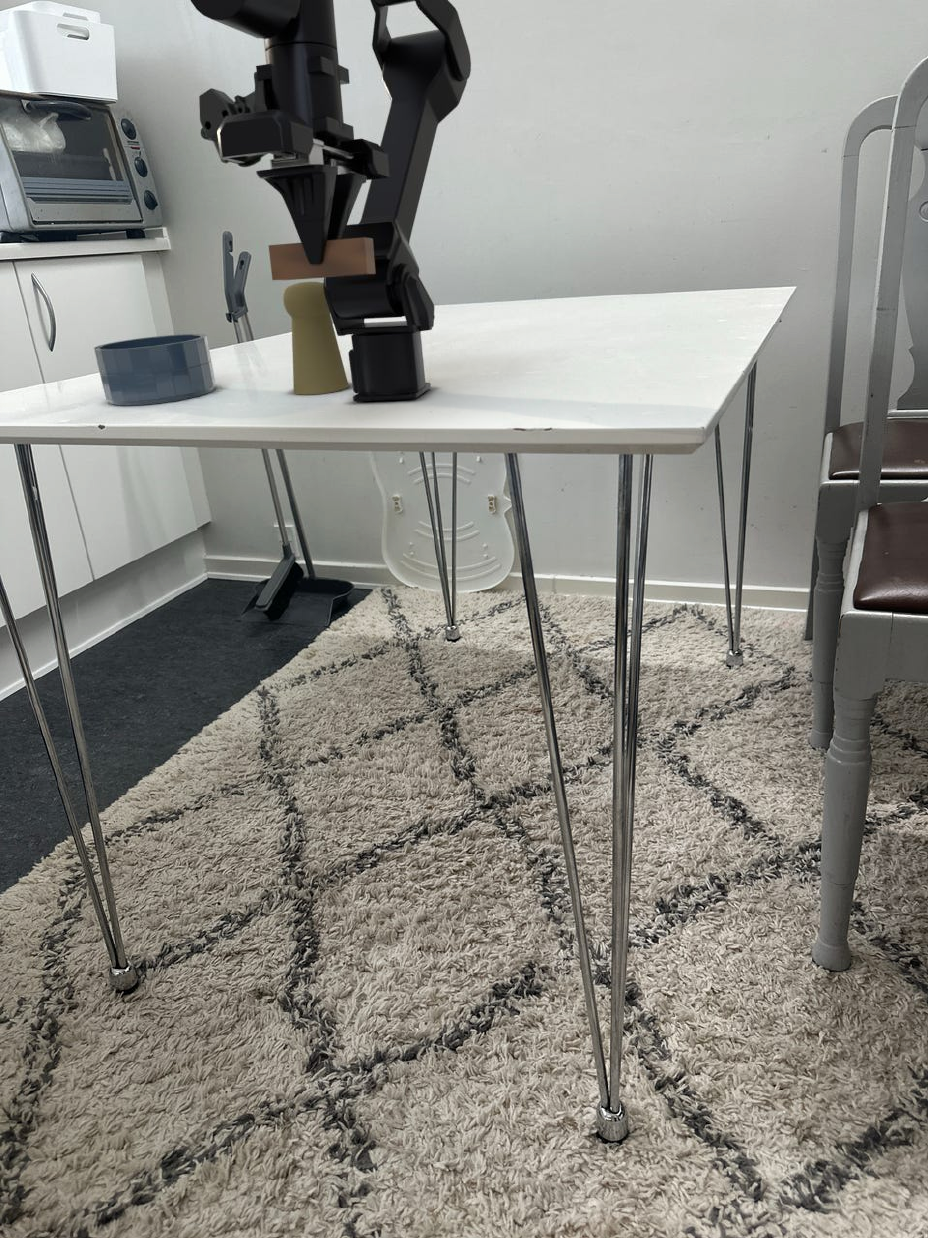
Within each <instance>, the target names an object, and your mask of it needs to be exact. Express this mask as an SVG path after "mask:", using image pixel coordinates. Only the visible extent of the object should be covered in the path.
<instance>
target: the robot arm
mask: <svg viewBox="0 0 928 1238" xmlns="http://www.w3.org/2000/svg"><path fill="white" fill-rule="evenodd" d="M369 1H370V3H371V6H372V8H373V11H374V13H375V14H374V23H373V32H372V40H371V47H372V51H373V53H374V56H375V59H376V61H377V64H378V66H379V68H380V71H381V82H382V83H383V86H384V87H385V90H386V92H387V95H388V96H389V99H390V101H391V102H390V106H389V110H388V114H387V117H386V122H385V126H384V130H383V133H382V136H381V137H382V138H381V141H380V145H379V144H378V143H376V142H373V141H370V140H368V139H364V138H355V131H354V126H353V125H350V124H348V123H345V122H344V121H345V120H344V110H343V98H342V85H349V84H350V83H351V82H350V70H349V68H347V67H345V66H343V65H340V63H339V52H338V40H337V29H336V16H335V5H334V0H190V2H191V4H192V5H193V7H194V8H195V9H196V10H197V12H199V13H200V14H201V15H202V16H204V17H205V18H208V19H210V20H212V21H214V22H217V23H220V24H222V25H224V26H227V27H228V28H232V29H234V30H237V31H239V32H241V33H244V34H246V35H249V36H252V37H254V38H256V39H262V40H263V47H264V55H265V64H259V65H255V69H256V71H254V73H253V82H254V91H252V92H251V93H249V94H247V95H245V96H243V95H239V94H237V95H235V96H234V97H233V98H234V100H233V99H232V98H231V97H230V96H229V95H228V94H227V93H226V92H224V91H222V90H218V89H216V88H213V87H211V88H209V89H207V90H206V91H205V92H203V93H201V94H200V95H199V96H198V107H199V108H198V109H199V111H198V112H199V123H200V125H201V129H200V136H201V138H202V139H203V140H207V141H210V142H212V143H213V146H214V147H215V150H216V152H217V154H218V157H219V159H220V161H221V163H223V164H225V165H226V164H227V165H228V163H232V164H237V166H238V167H241V168H249V167H252V166H256V164H259V163H260V162H261V160H262V158H263V157H265V156H266V155H268V154H271V155H272V157H273V158H272V159H269V163H270V164H269V165H270V169H269V168H268V169H262V170H256V171H255V174H256V175H257V177H258V178H259V179H261V180H263V181H265V182H266V183H268V184H269V186H271V187H272V188H273V189H275V190H276V191H277V192H278V193H279V194H280V195H281V197H282V199H283V201H284V204H285V206H286V208H287V211H288V213H289V215H290V217H291V220H292V222H293V225H294V227H295V231H296V233H297V235H298V238H299V241H300V243H302V246H303V248H304V251H305V254H306V256H307V259H308V261H309V263H310V264H313V265H314V264H322V262H323V258H324V253H325V248H326V243H327V240H338V239H350V238H362V237H365V238H372V239H373V247H374V260H375V274H370V275H355V276H341V277H326V278H323V282H322V283H323V288H324V295H325V298H326V301H327V304H328V308H329V311H330V316H331V320H332V324H333V327H334V330H335V333H336V336H337V337H345V336H348V335H349V336H350V337H351V338H350V339H351V347H352V348H351V349H350V350H349V351H348V352H347V353H348V354H347V355H348V361H349V369H350V377H351V385H352V392H353V393H354V394H355V395H353V396H352V401H353V402H372V401H373V402H374V401H394V400H395V401H396V400H414V399H417V398H418V397H420V396H421V395H422V394H424V393H425V392H427V391H428V390H430V388H432V387H431V386H432V384H431V382H426V375H425V373H426V371H425V364H424V363H425V361H424V353H423V343H422V342H423V341H422V332H427V331H431V330H433V328H434V325H435V304H434V302H433V300H432V299H431V296H430V294H429V293H428V290H427V289H426V287H425V285H424V282H423V281H422V279H421V277H420V267H419V264H418V262H417V260H416V256H415V255H414V253H413V250H412V247H411V245H410V242H411V236H412V233H413V229H414V224H415V220H416V215H417V211H418V208H419V203H420V200H421V195H422V191H423V187H424V183H425V178H426V175H427V171H428V167H429V163H430V158H431V155H432V150H433V146H434V142H435V139H436V133H437V130H438V125H439V124H441V122H442V121H444V120H445V119H446V118H447V116H449V115H451V113H452V112H453V111H454V110H455V109H456V108H457V107H458V106H459V104H460V102H461V100H462V97H463V94H464V92H465V89H466V87H467V83H468V80H469V78H470V77H471V72H472V59H471V52H470V49H469V45H468V42H467V38H466V35H465V32H464V29H463V26H462V23H461V19H460V16H459V15H460V14H459V12H458V10H457V9H456V7H455V6H454V5H453V4H452V2H451V1H449V0H369ZM413 2H415V5H416V7H417V8H418V10H419V11H420V12H421V13H422V15H424V16H425V17H426V18H427V19H428V20H429V22H430V23H431V24H433V26H434V27H435V28H436V29H434V30H428V31H427V30H426V31H423V32H416V33H411V34H407V35H400V36H395V37H392V35H391V34H390V33H391V32H390V31H389V27H388V26H387V21H388V20H387V19H388V14H389V7H392V6H397V5H403V4H408V3H413ZM367 181H370V183H369V187H368V191H367V194H366V198H365V201H364V206H363V209H362V213H361V218H360V221H359V222H358V223H353V224H352V223H351V224H348V223H349V220H350V217H351V214H352V211H353V208H354V207H355V204H356V201H357V198H358V196H359V193H360V191H361V188H362V186H363V184H366V183H367ZM392 318H405V320H397V321H377V322H376V321H375V322H374V321H373V322H365V320H371V319H372V320H373V319H392Z"/></svg>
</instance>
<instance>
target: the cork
mask: <svg viewBox="0 0 928 1238" xmlns="http://www.w3.org/2000/svg"><path fill="white" fill-rule="evenodd" d="M323 283H324V282H320V281H303V282H297V283H294V284H291V285H288V286H287V287H286V288H285V289H284V292H283V297H282V298H283V306H284V309H285V311H286V313H287V314H288V315H289V316H290V317H291V347H292V349H291V350H292V382H293V394H296V395H306V396H308V395H309V396H311V395H322V394H330V393H336V392H339V391H344V390H346V389H348V388H349V387H350V385H349V381H348V377H347V374H346V373H347V372H346V370H345V367H344V363H343V358H342V354H341V350H340V347H339V344H338V340H337V339H338V338H337V334H336V330H335V327H334V323H333V320H332V317H331V314H330V311H329V308H328V304H327V301H326V298H325V295H324V288H323Z"/></svg>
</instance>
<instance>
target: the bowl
mask: <svg viewBox="0 0 928 1238" xmlns="http://www.w3.org/2000/svg"><path fill="white" fill-rule="evenodd" d="M93 351H94V356H95V360H96V365H97V368H98V372H99V377H100V380H101V385H102V389H103V394H104V397H105V400H107V401H108V402H109V404H110V405H114V406H123V407H124V406H126V407H127V406H128V407H130V406H145V405H146V406H147V405H158V404H165V403H172V402H178V401H184V400H188V399H194V398H197V397H200V396H204V395H207V394H209V393H211V392H213V391H214V389H215V388H214V387H215V386H216V385H217V383H216V378H215V371H214V367H213V361H212V355H211V352H210V346H209V340H208V336H207V335H206V334H201V333H185V334H183V333H182V334H169V335H168V334H167V335H158V336H148V337H139V338H133V339H126V340H120V341H114V342H109V343H105V344H100V345H97V346H95V347H93Z"/></svg>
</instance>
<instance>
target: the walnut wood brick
mask: <svg viewBox="0 0 928 1238" xmlns="http://www.w3.org/2000/svg"><path fill="white" fill-rule="evenodd" d="M268 254H269V262H270V270H271V280H272V281H294V280H295V281H296V280H309V279H324V278H326V277H341V276H355V275H370V274H375V260H374V247H373V239H372V238H365V237H362V238H350V239H338V240H327V243H326V248H325V253H324V258H323V262H322V264H314V265H313V264H310V263H309V261H308V259H307V256H306V254H305V251H304V248H303V246H302V243H301V242H293V243H291V242H290V243H279V244H269V245H268Z"/></svg>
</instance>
